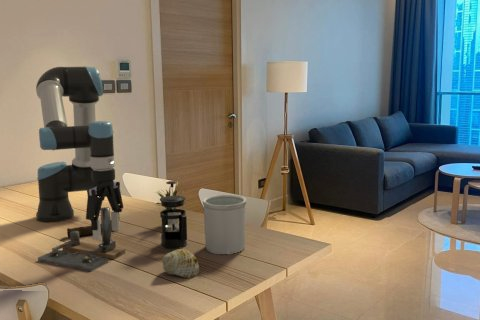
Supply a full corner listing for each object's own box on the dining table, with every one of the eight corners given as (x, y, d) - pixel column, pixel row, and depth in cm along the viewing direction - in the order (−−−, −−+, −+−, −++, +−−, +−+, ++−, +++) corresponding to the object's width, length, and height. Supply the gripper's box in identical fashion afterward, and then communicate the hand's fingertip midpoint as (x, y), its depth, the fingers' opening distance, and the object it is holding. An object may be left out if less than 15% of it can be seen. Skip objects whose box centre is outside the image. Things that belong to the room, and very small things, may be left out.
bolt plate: (56, 253, 166) (56, 249, 166) (108, 262, 157) (107, 258, 157) (37, 261, 159) (37, 257, 158) (91, 271, 150) (90, 267, 149)
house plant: (156, 233, 186) (155, 192, 183) (146, 224, 198) (144, 185, 195) (191, 228, 192) (190, 187, 189) (179, 219, 204) (178, 181, 202)
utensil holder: (237, 257, 160) (237, 206, 157) (196, 252, 165) (195, 202, 162) (252, 243, 174) (252, 196, 171) (213, 239, 179) (213, 192, 176)
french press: (154, 244, 174) (151, 181, 170) (174, 238, 180) (173, 177, 177) (174, 252, 166) (172, 186, 162) (195, 245, 172) (194, 182, 169)
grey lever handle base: (75, 244, 174) (74, 228, 173) (125, 253, 165) (124, 236, 164) (45, 257, 162) (44, 240, 161) (98, 267, 153) (97, 249, 152)
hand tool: (68, 240, 180) (67, 228, 179) (67, 237, 183) (66, 225, 182) (119, 232, 188) (119, 221, 187) (117, 230, 192) (116, 218, 191)
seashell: (207, 270, 148) (194, 246, 143) (182, 291, 144) (168, 267, 139) (190, 259, 156) (177, 236, 151) (166, 278, 152) (152, 255, 147)
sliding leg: (108, 246, 167) (106, 206, 164) (115, 247, 166) (113, 207, 163) (81, 259, 155) (79, 216, 153) (89, 260, 154) (86, 217, 151)
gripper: (89, 175, 148) (93, 246, 152) (132, 164, 168) (135, 227, 171) (70, 173, 151) (75, 243, 155) (114, 162, 171) (117, 224, 174)
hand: (106, 234), depth 163 cm, fingers open, 9 cm apart
